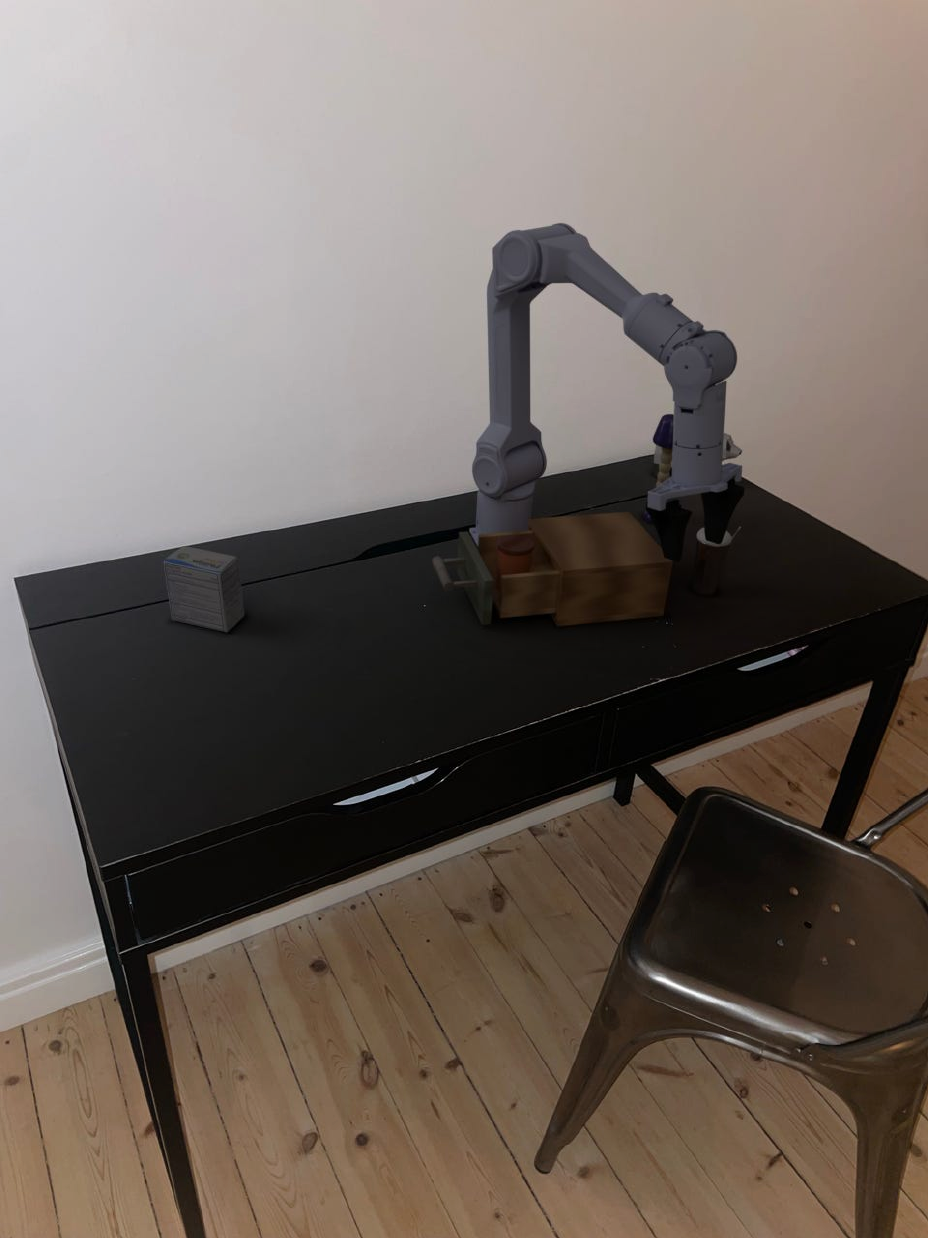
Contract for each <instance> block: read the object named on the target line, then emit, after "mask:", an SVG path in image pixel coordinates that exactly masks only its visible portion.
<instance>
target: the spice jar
mask: <svg viewBox="0 0 928 1238" xmlns="http://www.w3.org/2000/svg"><path fill="white" fill-rule="evenodd" d="M497 547H498V558H497V573H496V589H497V590H498V591H499V592H500V586H501V575H510V574H521V573H531V562H532V551H533V548H534V543H533V541H532V540H531V539H529V538H527V537H525V536H521V535H507V536H503V537H501V538H500V539H499V540H498V546H497Z"/></svg>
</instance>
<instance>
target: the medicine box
mask: <svg viewBox="0 0 928 1238" xmlns="http://www.w3.org/2000/svg"><path fill="white" fill-rule="evenodd" d="M162 562H163V568H164V570H163V571H164V575H165V582H166V588H167V597H168V601H169V608H170V615H171V620H172V621H175V622H179V623H183V624H184V623H185V624H189V625H193V626H197V627H201V628H206V629H210V630H215V631H218V632H224V633H228V632H230V630H231V629H233V628H234V627H235V626H236V625H237V623H239V622H240V621H241V619H243V618H244V617H245V608H244V599H243V590H242V582H241V574H240V565H239V564H240V563H239V558H238V557H237V556H235V555H229V554H225V553H220V552H215V551H209V550H206V549H200V548H195V547H191V546H186V545H183V546H181V547H179V549H177V550H175V551H174V552H173V553H171V554H170V555H169V556H167V557H166V558H165V559H164V560H163V561H162Z"/></svg>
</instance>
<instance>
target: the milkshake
mask: <svg viewBox="0 0 928 1238" xmlns="http://www.w3.org/2000/svg"><path fill="white" fill-rule="evenodd" d="M741 528H742V525H741V526H740V525H739V527H738V528H737V530H736V531H735V533H734V534H732V535H731V534H730V533H729V532H728V531H727V530H726V532H725V535H724V538H723V541H722V543H721V544H715V543H712V542H709V541H706V539H705V533H704V527H701V528H700V529H699V530H698V531H697V533H696V537H695V549H694V551H695V552H694V560H693V561H694V562H693V569H692V580H691V589H692V592H694V593H695V594H698V595H701V596H710V595H711V596H712V595H715V593H716V592H717V589H718V587H719V586H718V585H719V582H720V579H721V575H722V572H723V569H724V565H725V562H726V560H727V559H726V558H727V555H728V552H729V550H730V547H731V543H732V540H733V539H734V537H735V536H736V535H737V533H738V532H739V531H740V529H741Z"/></svg>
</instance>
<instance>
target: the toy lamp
mask: <svg viewBox="0 0 928 1238" xmlns="http://www.w3.org/2000/svg"><path fill="white" fill-rule="evenodd" d="M673 422H674V413H673V414H672V413H666V414H664V415H662V416H661V418H660V420H659V423H658V424H657V426H656V428H655V431H654V434H653V436H652V442H653V444H654V445H655V446H656V445H658V446H659V447H662V454H661V457H660V459H661V462H660V465H659V470H660V471H659V473H658V477H657V481H656V484H655V488H657V487H658V486H659V485H661V484H662V483H663V482H664V481H666V480H667V479H668V478H670V477H671V475H670V472H669V471H670V469H671V463H670V462H671V461H672V452H673ZM643 519H644V521H646V522H648V523H651V524H653V525H654V523H653V521H652V519H651V517H650V516H649V514H648V513H647V511H646V510H645V511H644V513H643Z"/></svg>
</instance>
